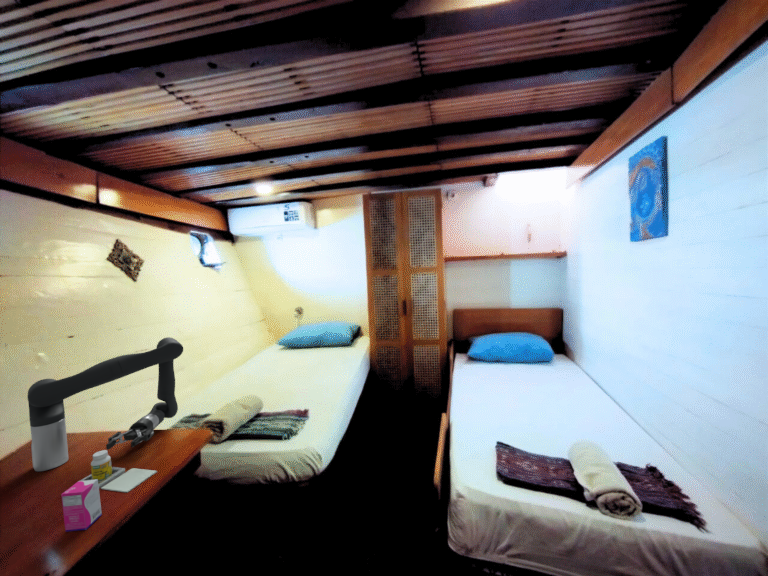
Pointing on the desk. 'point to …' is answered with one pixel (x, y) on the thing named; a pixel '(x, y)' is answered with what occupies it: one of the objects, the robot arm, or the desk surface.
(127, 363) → the robot arm
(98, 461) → the supplement bottle
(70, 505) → the supplement box
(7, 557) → the desk surface
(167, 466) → the desk surface
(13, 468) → the desk surface
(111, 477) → the square frame
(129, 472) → the pad
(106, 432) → the desk surface
